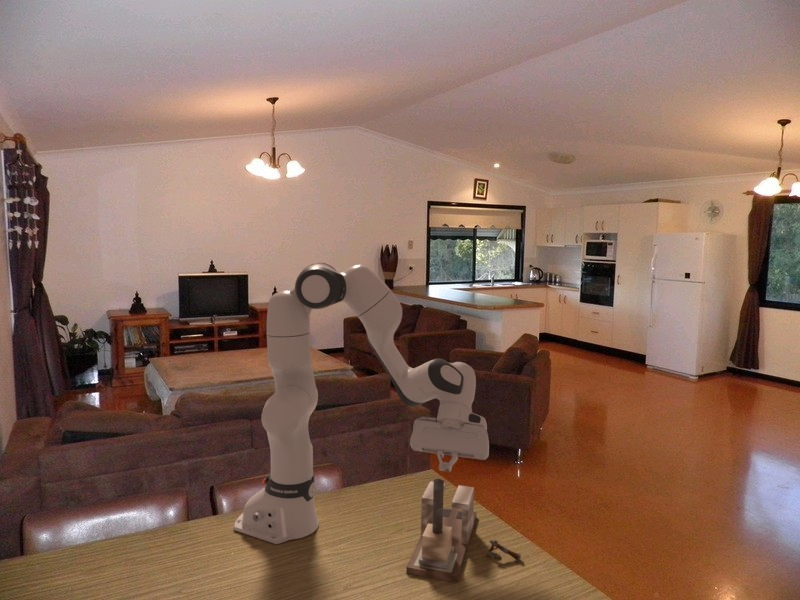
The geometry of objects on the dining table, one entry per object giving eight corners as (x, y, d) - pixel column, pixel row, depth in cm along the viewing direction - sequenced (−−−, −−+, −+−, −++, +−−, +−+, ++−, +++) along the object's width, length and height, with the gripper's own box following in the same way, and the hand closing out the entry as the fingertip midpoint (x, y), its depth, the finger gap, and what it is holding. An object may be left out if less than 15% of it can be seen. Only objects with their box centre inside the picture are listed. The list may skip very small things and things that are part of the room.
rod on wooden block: (418, 563, 131) (420, 486, 129) (426, 545, 139) (428, 472, 137) (447, 568, 129) (450, 490, 127) (454, 550, 137) (456, 476, 135)
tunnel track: (406, 573, 130) (407, 524, 129) (434, 510, 160) (435, 471, 159) (457, 582, 127) (458, 533, 126) (476, 517, 157) (477, 476, 155)
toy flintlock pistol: (483, 550, 139) (491, 536, 138) (512, 566, 138) (521, 552, 137) (483, 555, 137) (491, 540, 136) (512, 571, 136) (521, 556, 135)
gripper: (413, 410, 147) (402, 459, 139) (491, 419, 142) (484, 471, 134) (417, 421, 152) (406, 469, 144) (492, 430, 147) (486, 481, 138)
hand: (444, 470), depth 139 cm, fingers closed
